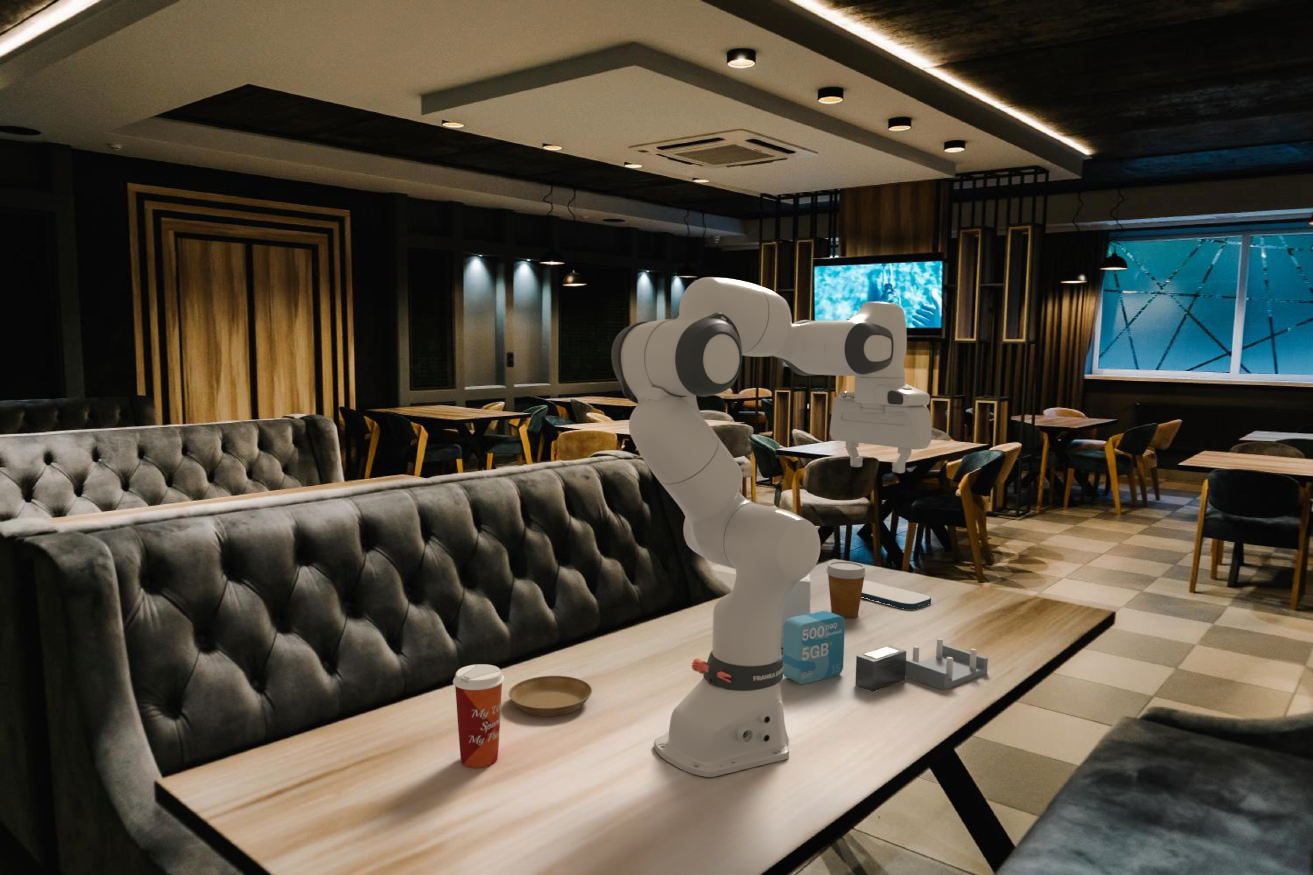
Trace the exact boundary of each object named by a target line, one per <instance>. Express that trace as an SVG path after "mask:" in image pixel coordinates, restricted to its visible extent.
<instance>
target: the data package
mask: <svg viewBox="0 0 1313 875" xmlns="http://www.w3.org/2000/svg"><path fill="white" fill-rule="evenodd" d="M845 629H846V621H845V618H843V617H841V616H839V615H836V614H833V613H831V611H827V610H822V611H817V612H810V614H806V615H801V616H796V617H791V618H788V619H787V620H786V622H785V624H784V641H783V648H782V656H783V666H784V670H783V677H786V678H787V679H789V680H790V681H793V682H795V683H797V684H799V685H806V684H810V683H814V682H817V681H823V680H826V679H829V678H833V677H837V676H839V675H840V674H841V673H842V671H843V670H844V660H845V659H844V658H845V657H844V655H845V654H844V653H845V631H846V630H845Z"/></svg>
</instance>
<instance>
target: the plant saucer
mask: <svg viewBox="0 0 1313 875" xmlns="http://www.w3.org/2000/svg"><path fill="white" fill-rule="evenodd" d="M592 692H593V688H592V685H590V684H589V683H588V682H586V681H584V680H583V679H580V678H576V677H573V676H567V675H545V676H544V675H543V676H537V677H536V676H535V677H532V678H527V679H524V680H522V681H520V682H517V683H516V684H514V685H513V686H512V687H511V688H509V691H508V697H509V698H510V700H511V701H512V702H513V703H514V704H515V705H516V706H517V707H518V708H519V709H520V710H522V711H524V712H525V713H527V714H530V715H533V716H539V717H557V716H558V717H559V716H564V715H568V714H570V713H573V712H574V711H577V710H578V709H579V708H581V707H582V706H583V705H584V703H586V702H587V700H589V698H590V697H591V695H592V694H593V693H592Z"/></svg>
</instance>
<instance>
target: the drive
mask: <svg viewBox="0 0 1313 875" xmlns="http://www.w3.org/2000/svg"><path fill="white" fill-rule="evenodd" d="M855 658H856V660H855V684H854V686H855V685H856V686H855V687H857V686H858V687H857V688H860V689H863V690H865V689H866V691H868V690H869V691H868V692H870V691H871V693H874V692H877V691H880V690H883V689H885V687H886V688H888V687H891V686H893V685H896V683H897V684H898V683H901V682H905V681H906V676H905V673H906V659H907V650H904V649H901V648H899V647H896V646H893V645H886V646H883V647H880V648H876V649H874V650H873V649H872V650H870V651H868V652H867V651H866V652H864V653H860V654H858V655H856V656H855ZM876 690H877V691H876Z"/></svg>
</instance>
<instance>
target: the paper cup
mask: <svg viewBox="0 0 1313 875" xmlns="http://www.w3.org/2000/svg"><path fill="white" fill-rule="evenodd" d="M503 682H505V676H504V675H503V674H502V671H501V669H500V667H498V666H496V665H492V664H486V663H485V664H483V663H482V664H481V663H480V664H479V663H478V664H470V665H466V666H463V667H460V668H459V669H458V670H457V671H456V672H455V676H454V678H453V680H452V684H453V685H454V687H455V700H456V715H457V728H458V729H457V730H458V741H459V742H458V743H459V754H460V755H459V756H460V762H461V764H462V766H464V767H467V768H470V769H483V768H487V767H491V766H493V765H494V764H495V763H496V762H497V761H498V758H499V747H500V730H501V729H500V727H501V712H502V711H501V709H502V693H503V692H502V688H503Z"/></svg>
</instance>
